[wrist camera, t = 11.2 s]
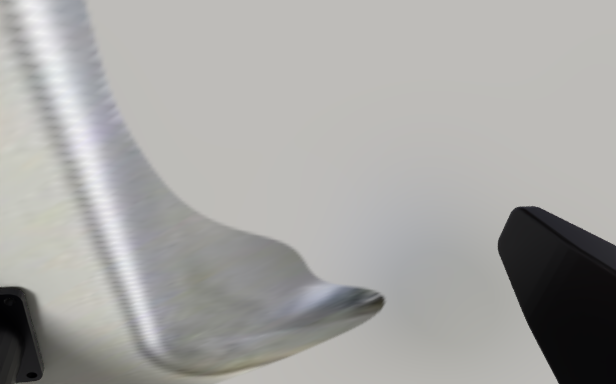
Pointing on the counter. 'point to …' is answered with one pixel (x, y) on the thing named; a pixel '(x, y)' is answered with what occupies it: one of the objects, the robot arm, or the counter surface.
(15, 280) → the counter surface
